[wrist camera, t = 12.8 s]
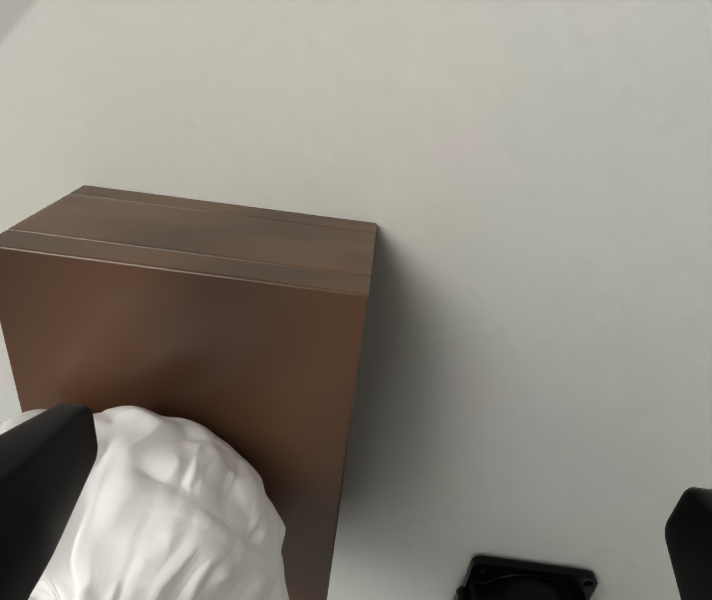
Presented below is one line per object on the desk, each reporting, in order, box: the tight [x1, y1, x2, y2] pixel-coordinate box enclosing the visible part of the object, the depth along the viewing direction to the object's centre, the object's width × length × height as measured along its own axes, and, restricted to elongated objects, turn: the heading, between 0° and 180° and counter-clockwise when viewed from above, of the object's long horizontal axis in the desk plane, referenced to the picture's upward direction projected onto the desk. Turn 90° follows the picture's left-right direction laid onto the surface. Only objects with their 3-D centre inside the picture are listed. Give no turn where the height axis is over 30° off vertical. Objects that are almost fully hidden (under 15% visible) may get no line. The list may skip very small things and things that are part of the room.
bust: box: [0, 406, 289, 600], centre depth 15 cm, size 12×8×11 cm
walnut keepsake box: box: [0, 185, 377, 600], centre depth 21 cm, size 11×15×6 cm
